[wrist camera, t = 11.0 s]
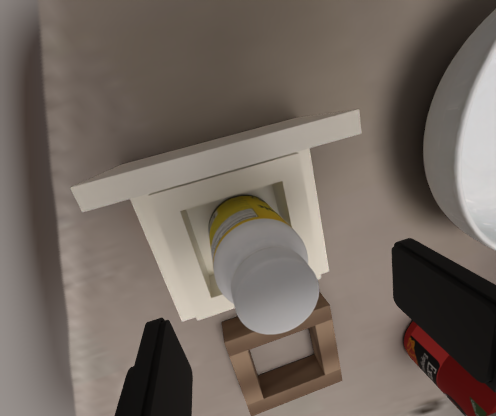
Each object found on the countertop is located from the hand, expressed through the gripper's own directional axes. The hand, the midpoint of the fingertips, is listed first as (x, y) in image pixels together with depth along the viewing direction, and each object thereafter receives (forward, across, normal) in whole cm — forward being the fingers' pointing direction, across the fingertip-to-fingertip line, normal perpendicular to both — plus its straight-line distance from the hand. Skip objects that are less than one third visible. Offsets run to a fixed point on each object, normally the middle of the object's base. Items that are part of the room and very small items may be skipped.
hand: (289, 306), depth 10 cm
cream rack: (+12, +1, +1) cm, 12 cm away
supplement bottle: (+11, 0, +1) cm, 11 cm away
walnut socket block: (+12, 0, +16) cm, 19 cm away
